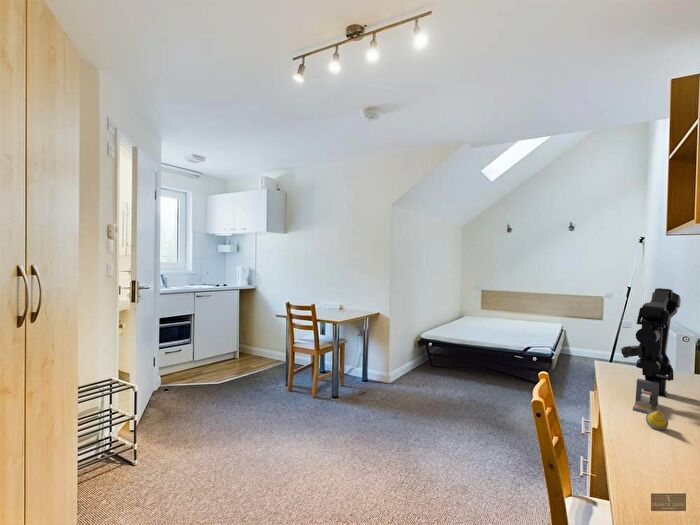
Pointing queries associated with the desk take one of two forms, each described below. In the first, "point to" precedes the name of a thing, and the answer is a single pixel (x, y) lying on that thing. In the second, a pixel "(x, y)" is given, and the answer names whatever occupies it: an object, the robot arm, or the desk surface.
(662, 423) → the yellow cone
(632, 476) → the desk surface
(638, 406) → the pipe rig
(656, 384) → the collar
